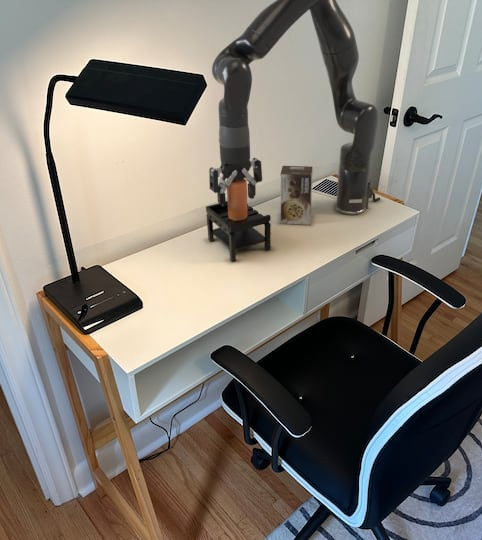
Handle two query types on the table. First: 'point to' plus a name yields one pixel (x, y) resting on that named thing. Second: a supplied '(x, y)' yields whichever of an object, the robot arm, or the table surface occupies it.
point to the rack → (237, 229)
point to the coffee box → (296, 194)
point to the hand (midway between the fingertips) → (237, 201)
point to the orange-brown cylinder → (237, 200)
